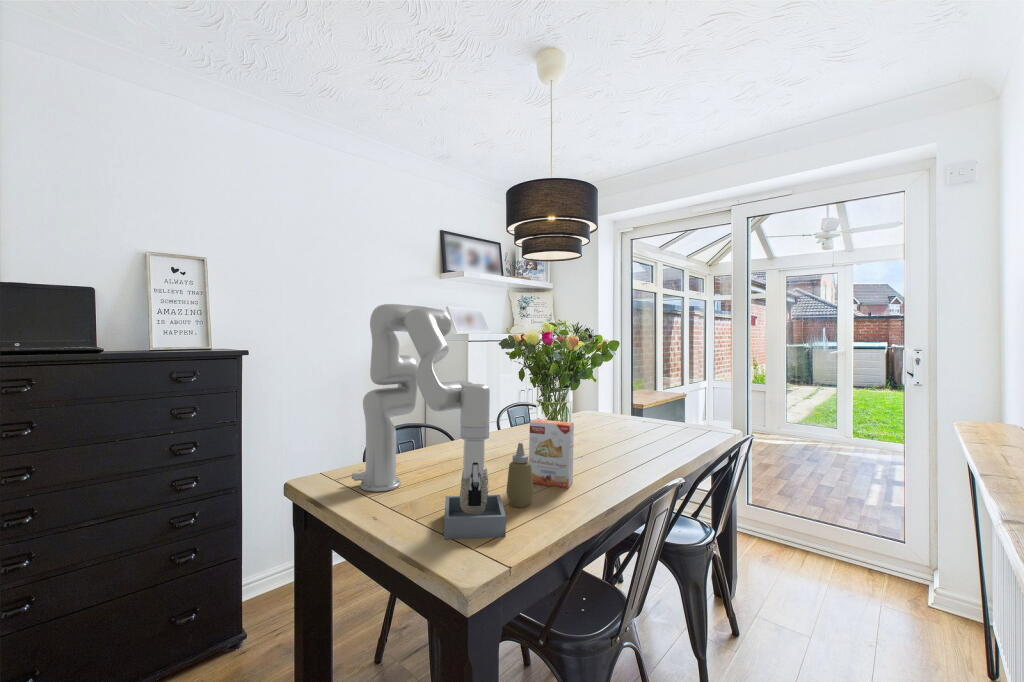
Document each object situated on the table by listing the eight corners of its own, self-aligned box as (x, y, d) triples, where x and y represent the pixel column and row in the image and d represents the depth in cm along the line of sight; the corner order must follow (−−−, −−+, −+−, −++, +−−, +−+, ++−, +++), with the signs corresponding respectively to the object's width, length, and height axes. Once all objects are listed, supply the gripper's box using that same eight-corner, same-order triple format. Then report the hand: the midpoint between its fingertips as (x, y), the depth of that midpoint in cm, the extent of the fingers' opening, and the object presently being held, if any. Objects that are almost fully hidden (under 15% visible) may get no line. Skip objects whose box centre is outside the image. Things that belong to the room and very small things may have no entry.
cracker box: (528, 483, 149) (528, 421, 148) (533, 478, 154) (534, 418, 154) (568, 489, 143) (569, 425, 143) (573, 483, 149) (574, 421, 149)
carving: (484, 517, 112) (485, 470, 112) (456, 515, 113) (456, 468, 113) (490, 508, 118) (491, 463, 118) (463, 506, 119) (464, 461, 119)
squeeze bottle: (524, 511, 125) (525, 448, 124) (500, 505, 129) (501, 444, 129) (538, 502, 131) (539, 442, 131) (515, 497, 136) (516, 438, 136)
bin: (444, 539, 107) (444, 518, 107) (445, 514, 122) (445, 496, 122) (505, 536, 109) (505, 516, 109) (499, 512, 124) (499, 494, 124)
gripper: (459, 425, 123) (459, 489, 124) (460, 439, 106) (459, 514, 106) (486, 425, 124) (486, 488, 125) (491, 439, 107) (490, 513, 107)
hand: (473, 499), depth 115 cm, fingers closed on carving, 6 cm apart
